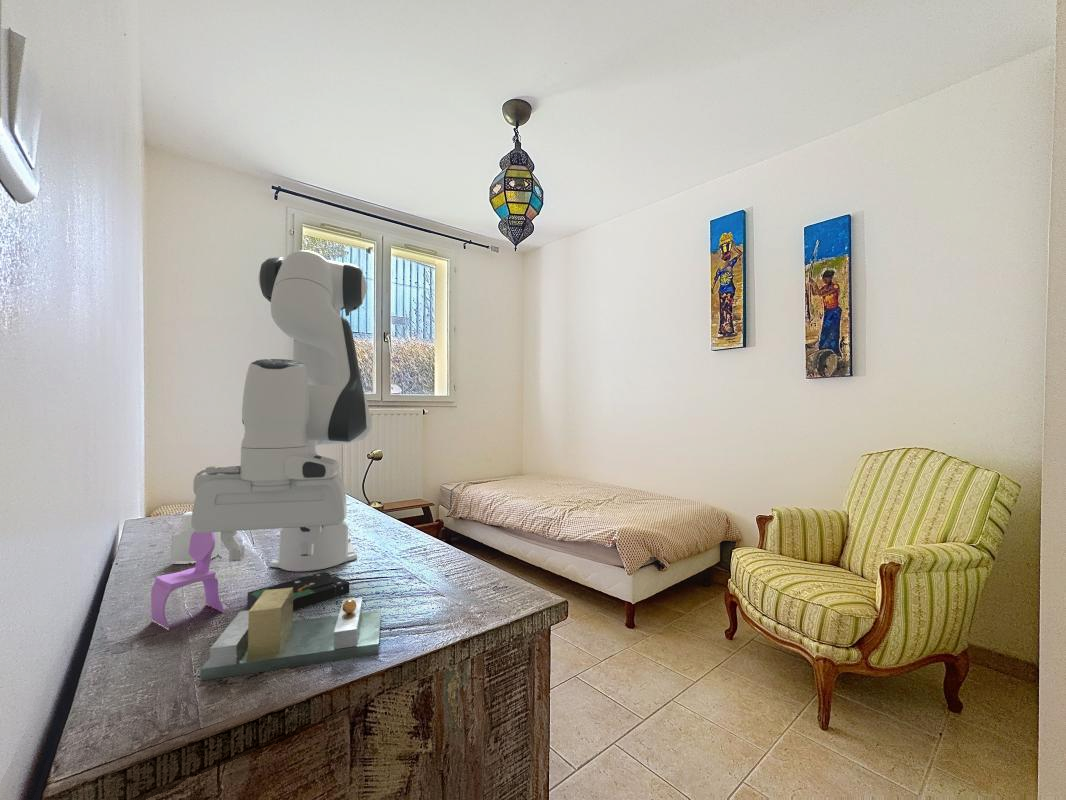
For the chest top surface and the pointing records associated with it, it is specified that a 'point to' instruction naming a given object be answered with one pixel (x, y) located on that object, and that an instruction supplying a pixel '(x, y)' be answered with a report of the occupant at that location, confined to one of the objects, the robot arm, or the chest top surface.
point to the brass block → (270, 621)
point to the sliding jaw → (348, 623)
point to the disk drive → (308, 590)
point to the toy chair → (188, 577)
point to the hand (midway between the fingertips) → (272, 557)
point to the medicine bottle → (188, 541)
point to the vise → (288, 646)
